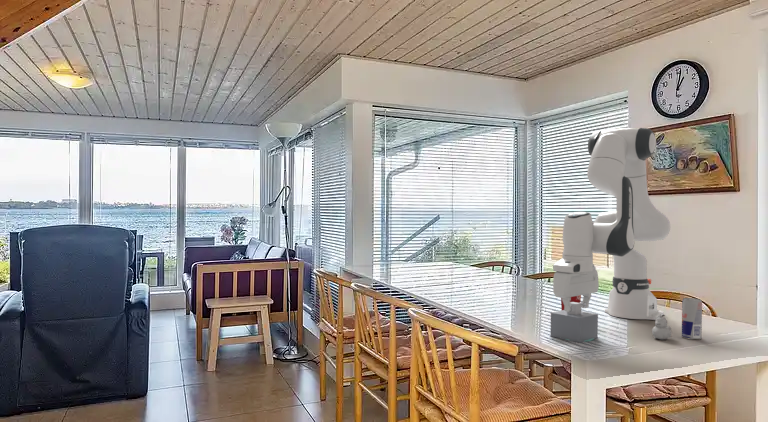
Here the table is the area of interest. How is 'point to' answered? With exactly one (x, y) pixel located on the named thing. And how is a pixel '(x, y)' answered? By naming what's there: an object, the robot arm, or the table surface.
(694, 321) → the energy drink
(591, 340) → the disc
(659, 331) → the rubber duck
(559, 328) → the grey rectangular box
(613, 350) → the table surface
